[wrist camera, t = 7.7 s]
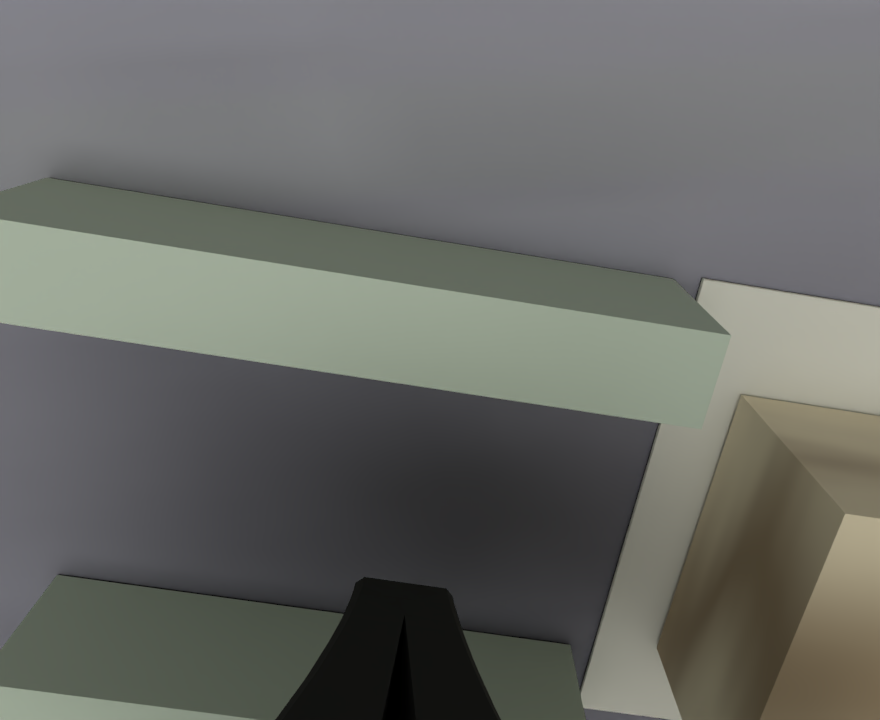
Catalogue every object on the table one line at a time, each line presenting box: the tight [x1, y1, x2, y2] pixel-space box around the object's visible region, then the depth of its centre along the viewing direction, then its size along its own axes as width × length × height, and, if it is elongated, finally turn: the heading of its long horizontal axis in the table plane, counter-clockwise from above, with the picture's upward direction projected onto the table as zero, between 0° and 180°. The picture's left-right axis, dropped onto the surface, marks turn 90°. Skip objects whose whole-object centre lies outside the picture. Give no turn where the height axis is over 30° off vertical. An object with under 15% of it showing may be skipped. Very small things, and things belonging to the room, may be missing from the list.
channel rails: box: [0, 178, 731, 720], centre depth 14 cm, size 10×11×3 cm
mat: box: [580, 278, 880, 720], centre depth 16 cm, size 10×5×1 cm, turn 171°
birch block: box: [657, 395, 880, 720], centre depth 14 cm, size 6×4×4 cm
